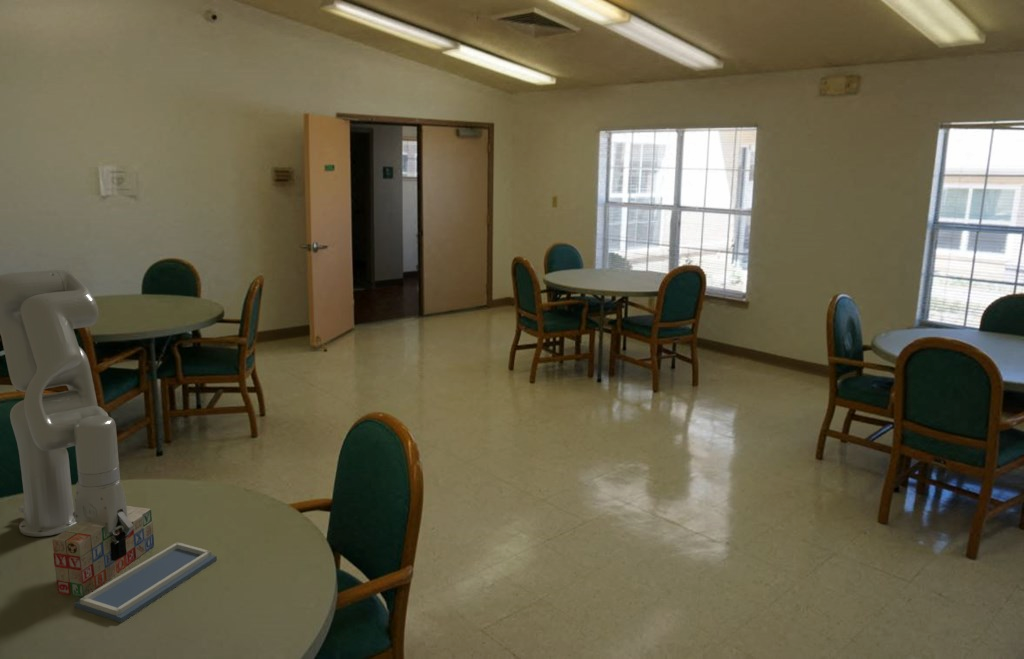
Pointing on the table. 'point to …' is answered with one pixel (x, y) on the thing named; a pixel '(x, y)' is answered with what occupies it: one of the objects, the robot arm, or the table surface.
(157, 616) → the table surface
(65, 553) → the stack of blocks
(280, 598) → the table surface
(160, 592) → the shallow rectangular tray
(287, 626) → the table surface
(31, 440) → the robot arm
